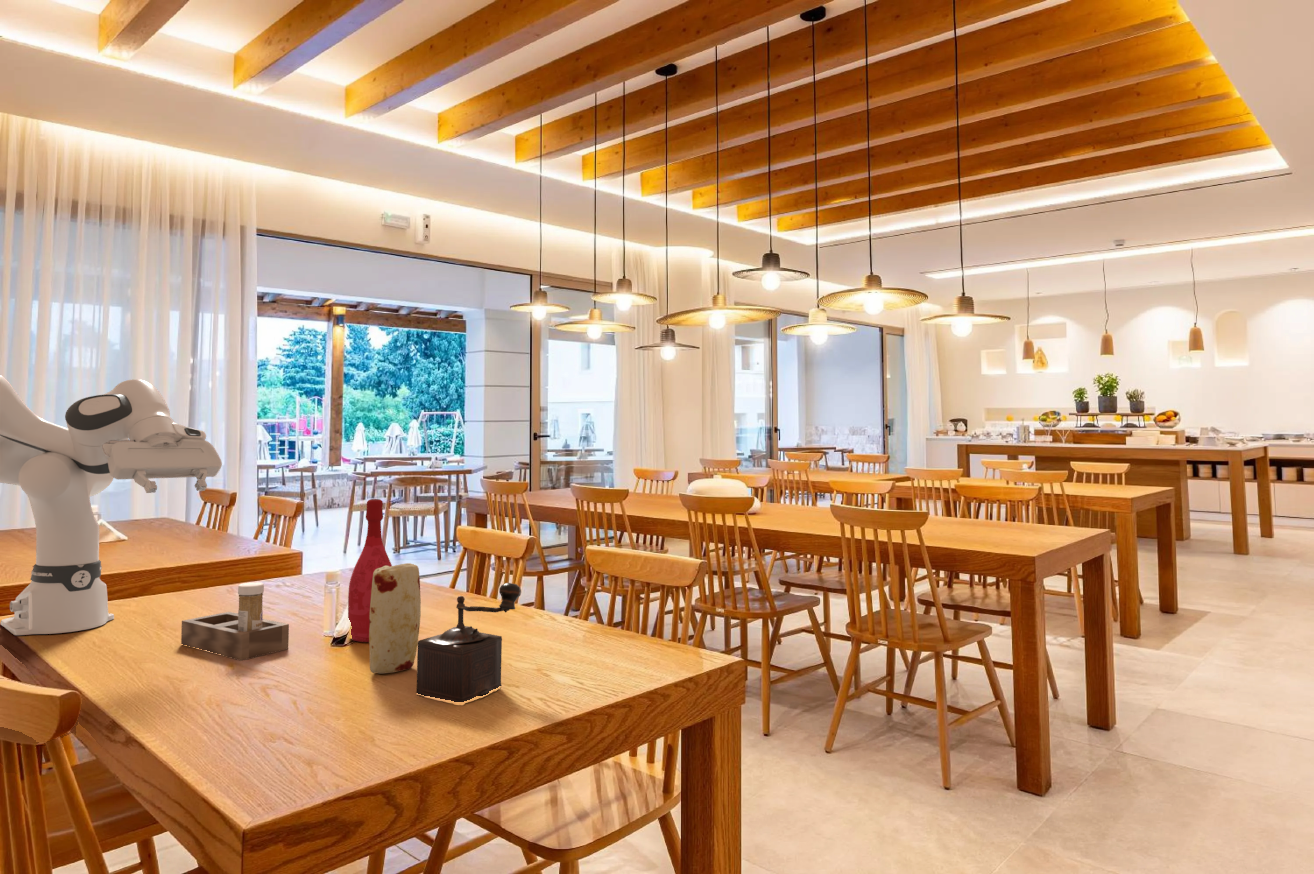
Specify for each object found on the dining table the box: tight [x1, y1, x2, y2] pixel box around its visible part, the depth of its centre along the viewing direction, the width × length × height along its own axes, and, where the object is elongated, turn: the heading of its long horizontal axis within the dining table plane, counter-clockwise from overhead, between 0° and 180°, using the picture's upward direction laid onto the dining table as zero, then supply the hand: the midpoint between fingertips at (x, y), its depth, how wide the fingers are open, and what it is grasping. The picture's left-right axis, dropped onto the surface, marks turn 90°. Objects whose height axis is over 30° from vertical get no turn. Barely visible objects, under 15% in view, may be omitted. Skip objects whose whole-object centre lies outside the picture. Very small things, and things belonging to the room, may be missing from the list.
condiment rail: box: [180, 611, 290, 661], centre depth 157 cm, size 20×10×5 cm, turn 61°
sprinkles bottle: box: [237, 581, 265, 632], centre depth 155 cm, size 5×5×14 cm
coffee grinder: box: [415, 582, 522, 702], centre depth 135 cm, size 16×11×18 cm
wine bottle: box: [347, 498, 393, 643], centre depth 167 cm, size 10×10×30 cm
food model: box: [368, 562, 422, 675], centre depth 144 cm, size 10×7×20 cm
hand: (177, 489), depth 157 cm, fingers open, 8 cm apart
